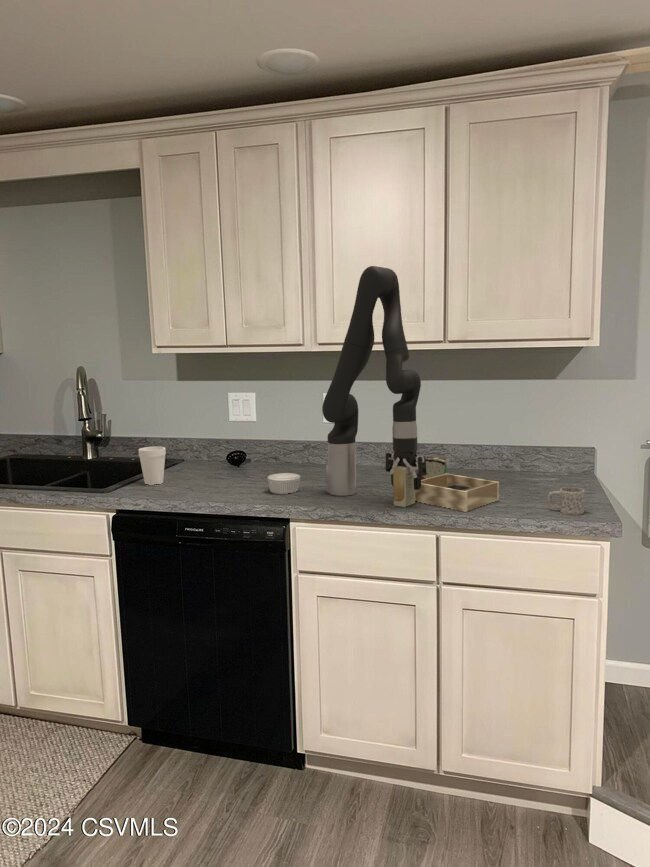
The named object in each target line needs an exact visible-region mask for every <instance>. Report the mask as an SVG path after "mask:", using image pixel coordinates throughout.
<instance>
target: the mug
mask: <svg viewBox="0 0 650 867" xmlns="http://www.w3.org/2000/svg"><path fill="white" fill-rule="evenodd" d="M585 492H586V491H585V489H584V488H583V487H576V486H565V487H564V486H563V487H560V489H559V490H554V491H550V492H548V495H547V505H548V507H549V508H552V509H556V510H559V512H560V513H562V514H564V515H570V516H578V515H577V514H580V515H583V514H584V513H585V495H586V494H585ZM553 496H559V504H554V503H552V497H553Z"/></svg>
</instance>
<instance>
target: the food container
mask: <svg viewBox="0 0 650 867" xmlns="http://www.w3.org/2000/svg"><path fill="white" fill-rule="evenodd" d="M423 456H425V457H426V470H427V475H425V476H422V477H421V480H423V479H427V478H431V477H435V476H438V475H442V474H446V473H447V474H448V472H447V470H448V466H449V465H450V461H449V458H448V457H447V456H443V455H436V454H434V455H433V454H426V455H425V454H424V455H423ZM416 463H417V461H416Z"/></svg>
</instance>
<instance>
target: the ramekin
mask: <svg viewBox="0 0 650 867" xmlns="http://www.w3.org/2000/svg"><path fill="white" fill-rule="evenodd" d="M300 480H301V475H300V474H298V473H293V472H292V473H291V472H290V473H289V472H282V473H274V474H270V475H268V476H267V481H268V486H269V487H268V488H269V491H270V492H271V493H272V494H275V495H289V494H288V493H291V494H294V492H295V493H297V492H298V491H299V488H300V487H299V486H300ZM296 491H297V492H296Z"/></svg>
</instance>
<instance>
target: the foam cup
mask: <svg viewBox="0 0 650 867" xmlns="http://www.w3.org/2000/svg"><path fill="white" fill-rule="evenodd" d="M166 455H167V451H166V447H164V446H155V445H154V446H145V447H140V448H138V457H139V461H140V466H141V471H142V476H143V481H144V485H145V484H149V485H154V484H161V483H164V475H165V465H166V464H165V461H166ZM161 485H162V484H161Z"/></svg>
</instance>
